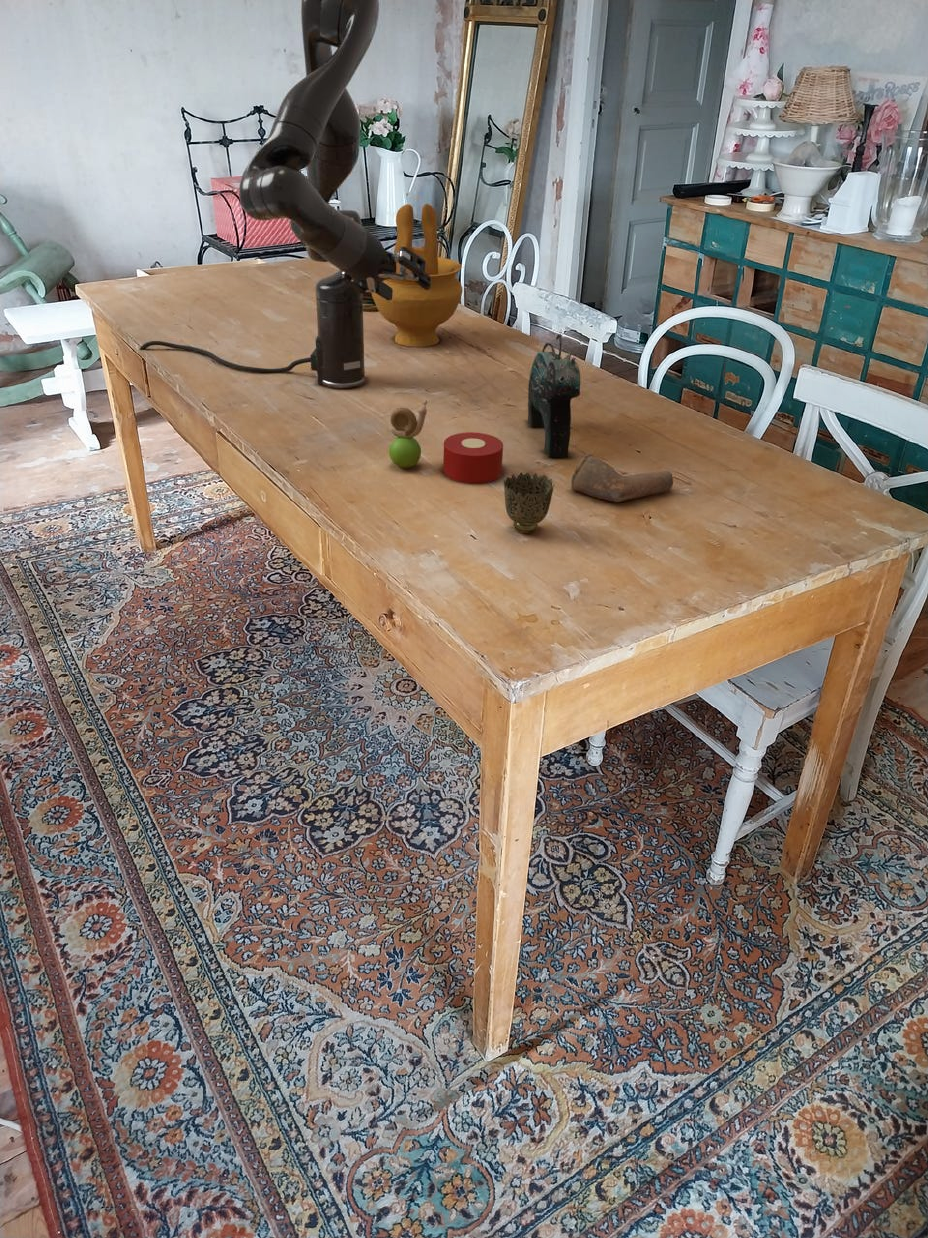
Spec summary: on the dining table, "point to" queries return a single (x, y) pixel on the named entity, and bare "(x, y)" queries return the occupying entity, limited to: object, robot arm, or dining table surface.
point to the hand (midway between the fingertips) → (409, 289)
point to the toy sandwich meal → (368, 302)
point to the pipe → (617, 481)
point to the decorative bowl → (411, 302)
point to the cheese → (472, 457)
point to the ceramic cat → (553, 398)
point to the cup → (527, 500)
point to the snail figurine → (406, 436)
